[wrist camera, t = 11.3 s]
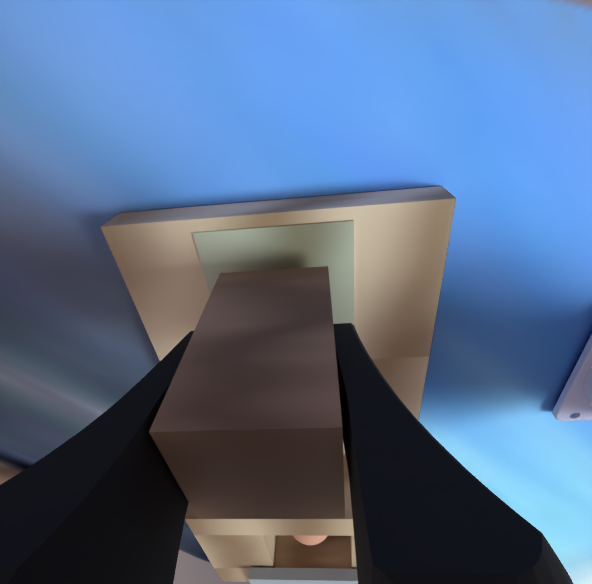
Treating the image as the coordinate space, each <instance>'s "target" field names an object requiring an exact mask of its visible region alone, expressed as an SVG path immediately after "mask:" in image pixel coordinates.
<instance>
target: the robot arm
mask: <svg viewBox="0 0 592 584" xmlns="http://www.w3.org/2000/svg"><path fill="white" fill-rule="evenodd" d="M333 326H334V337H335V349H336V360H337V371H338V383H339V394H340V405H341V417H342V429H343V443H344V449H345V455H346V460H347V467H348V474H349V482H350V494H351V505H352V517H353V529H354V541H355V552H356V565H357V577H358V584H573V582H572V580H571V578H570V576H569V575H568V573H567V571H566V570H565V568H564V566H563V565H562V563H561V562H560V560H559V558H558V557H557V555H556V554H555V552H554V551H553V549H552V548H551V546H550V544H549V543H548V541H547V540H546V538H545V537H544V535H543V534H542V533H541V532H540V531H539V530H538V529H536V528H535V527H534V526H532V525H531V524H530V523H529V522H528V521H526V520H525V519H524V518H523V517H521V516H520V515H519V514H518V513H516V512H515V511H514V510H513V509H511V508H510V507H509V506H508V505H507V504H505V503H504V502H503V501H502V500H501V499H500V498H498V497H497V496H496V495H495V494H494V493H492V492H491V491H490V490H489V489H488V488H487V487H486V486H484V485H483V484H482V483H481V482H480V481H479V480H478V479H477V478H475V477H474V476H473V475H472V474H471V473H470V472H469V471H468V470H467V469H466V468H465V467H463V466H462V465H461V464H460V463H459V462H458V461H457V460H456V459H455V458H454V457H453V456H452V455H451V454H450V453H449V452H448V451H447V450H446V449H445V448H444V447H443V446H442V445H441V444H440V443H439V442H438V441H437V440H436V439H435V438H434V437H433V436H432V435H431V434H430V433H429V432H428V431H427V430H426V429H425V428H424V426H423V425H422V424H421V423H420V422H419V421H418V420H417V419H416V418H415V416H414V415H413V414H412V413H411V412H410V411H409V409H408V408H407V407H406V406H405V405H404V403H403V402H402V401H401V400H400V398H399V397H398V396H397V395H396V393H395V392H394V391H393V389H392V388H391V387H390V385H389V384H388V383H387V381H386V380H385V378H384V377H383V376H382V374H381V373H380V371H379V370H378V368H377V367H376V365H375V363H374V362H373V360H372V359H371V357H370V356H369V354H368V352H367V351H366V349H365V347H364V345H363V343H362V342H361V340H360V338H359V336H358V333H357V331H356V329H355V326H354V325H353V324H352V323H340V324H333ZM193 332H194V331H190V332H189V333H188V334H187V335H186V336H185V337H184V338H183V339H182V340H181V341H180V342H179V343H178V344H177V345H176V346H175V347H174V348H173V349H172V350H171V351H170V352H169V353H168V354H167V355H166V356H165V357H164V358H163V359H162V360H161V361H160V362H159V363H158V364H157V365H156V366H155V367H154V368H153V369H152V370H151V371H150V372H149V373H148V374H147V375H146V376H145V377H144V378H143V379H142V380H141V381H140V382H138V383H137V384H136V385H135V386H134V387H133V388H132V389H131V390H130V391H129V392H127V393H126V394H125V395H124V396H123V397H122V398H121V399H120V400H119V401H118V402H116V403H115V404H114V405H113V406H112V407H111V408H109V409H108V410H107V411H106V412H104V413H103V414H102V415H101V416H100V417H98V418H97V419H96V420H94V421H93V422H92V423H91V424H89V425H88V426H87V427H86V428H84V429H83V430H82V431H80V432H79V433H78V434H76V435H75V436H73V437H72V438H71V439H69V440H68V441H66V442H65V443H63V444H62V445H61V446H59V447H58V448H56V449H55V450H53V451H52V452H51V453H49V454H48V455H46V456H45V457H44V458H42V459H41V460H39V461H38V462H36V463H35V464H33V465H31V466H30V467H28V468H27V469H25V470H24V471H22V472H21V473H19V474H17V475H16V476H14V477H13V478H11V479H9V480H8V481H6V482H5V483H3V484H1V485H0V584H173V581H174V575H175V568H176V563H177V557H178V551H179V546H180V541H181V536H182V530H183V525H184V520H185V515H186V510H187V506H188V500H187V498H186V496H185V495H184V493H183V491H182V489H181V488H180V486H179V484H178V482H177V481H176V479H175V477H174V475H173V473H172V472H171V470H170V468H169V466H168V465H167V463H166V461H165V459H164V458H163V456H162V454H161V452H160V451H159V449H158V447H157V445H156V444H155V442H154V440H153V438H152V437H151V435H150V433H149V431H150V428H151V426H152V424H153V422H154V419H155V417H156V415H157V413H158V410H159V408H160V406H161V404H162V402H163V399H164V397H165V395H166V393H167V390H168V388H169V386H170V384H171V381H172V379H173V377H174V375H175V373H176V370H177V368H178V366H179V364H180V361H181V359H182V357H183V355H184V352H185V350H186V348H187V346H188V344H189V341H190V339H191V337H192V335H193ZM552 414H553V415H554V417H555V418H556V419H557V420H560V421H576V420H592V334H591V336H590V338H589V340H588V342H587V344H586V346H585V348H584V350H583V352H582V354H581V356H580V358H579V360H578V362H577V364H576V366H575V368H574V370H573V372H572V374H571V376H570V378H569V379H568V381H567V383H566V385H565V387H564V389H563V391H562V393H561V395H560V397H559V399H558V401H557V403H556V405H555V407H554V409H553V411H552Z"/></svg>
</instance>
